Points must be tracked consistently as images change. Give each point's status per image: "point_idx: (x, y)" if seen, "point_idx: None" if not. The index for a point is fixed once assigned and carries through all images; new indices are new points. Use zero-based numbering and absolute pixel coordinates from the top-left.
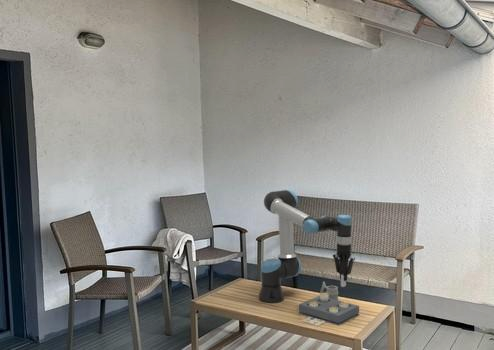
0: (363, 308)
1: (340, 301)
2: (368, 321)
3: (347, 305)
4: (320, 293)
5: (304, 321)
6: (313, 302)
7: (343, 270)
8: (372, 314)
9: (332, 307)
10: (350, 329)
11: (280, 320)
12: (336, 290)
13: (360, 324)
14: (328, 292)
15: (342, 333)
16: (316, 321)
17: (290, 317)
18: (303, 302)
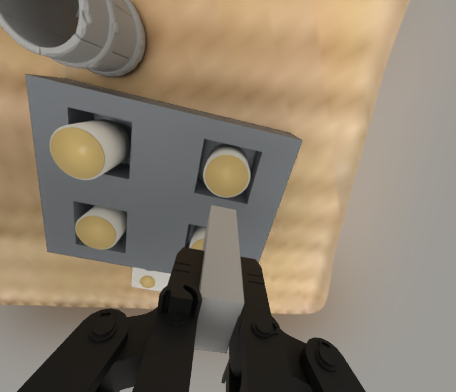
0: (291, 20)
1: (186, 120)
2: (339, 186)
3: (248, 181)
4: (55, 159)
5: (140, 287)
6: (92, 229)
7: (190, 368)
8: (349, 94)
9: (199, 247)
10: (291, 273)
11: (74, 301)
12: (97, 21)
13: (314, 226)
14: (59, 60)
15: (276, 304)
16: None
17: (80, 272)
18: (45, 223)
